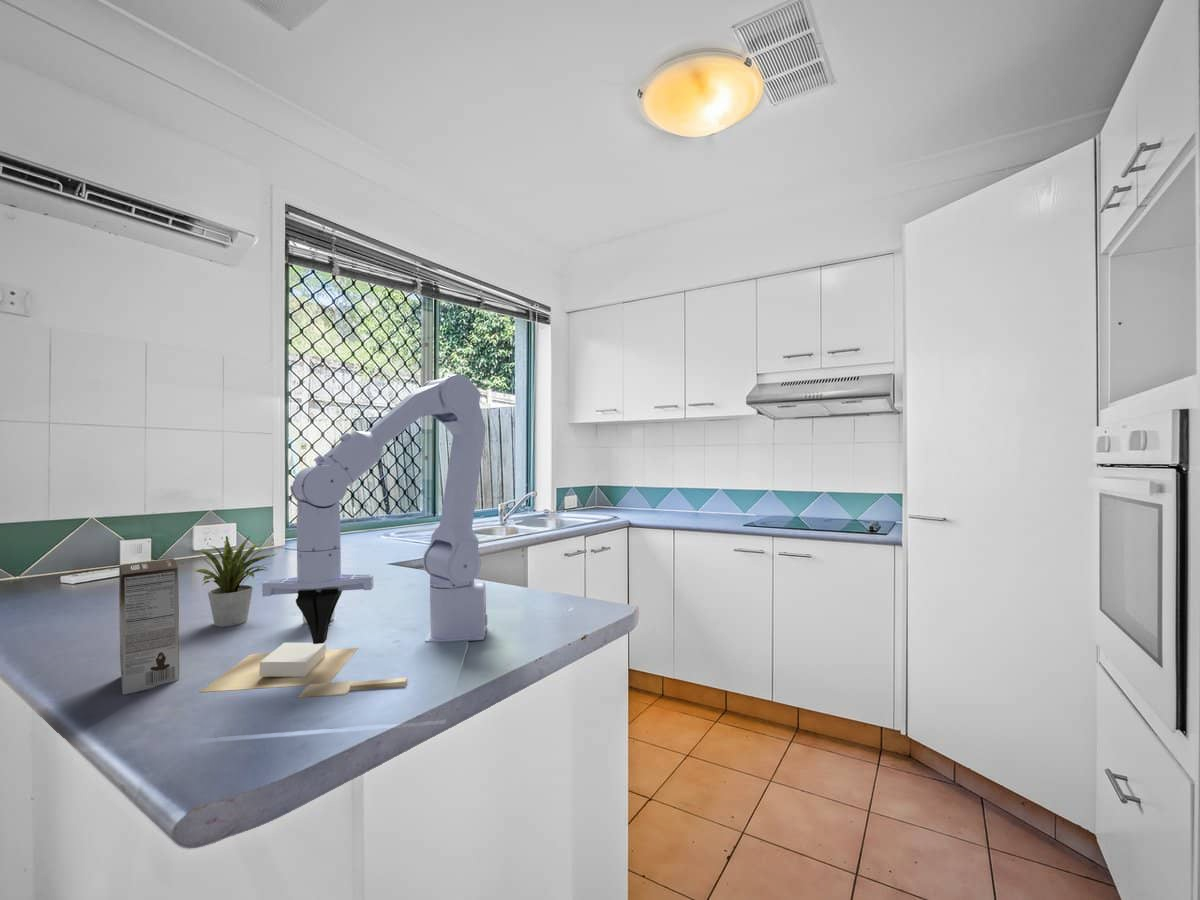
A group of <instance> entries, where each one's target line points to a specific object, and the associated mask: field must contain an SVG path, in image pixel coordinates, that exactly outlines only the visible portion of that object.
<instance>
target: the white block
mask: <svg viewBox="0 0 1200 900" xmlns="http://www.w3.org/2000/svg"><path fill="white" fill-rule="evenodd" d="M326 650H327V642H324V643H322V644H313V642H283V643H281V645H279V646H278V647H277V648H276V649H274V650H273V651H272V652H270V653H271V654H269V655H268V656H267V657H266V658H264V659H263V660H262V661H261V662H260V671H259V677H306V675H307V674H308V673H309V672H310V671H311V670H312V669H313V668H314V667H315V666H316V665H317V664H318V663H319V662H320V661H321V660H322V659H323V658H324V657H325V652H326Z"/></svg>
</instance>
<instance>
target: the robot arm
mask: <svg viewBox="0 0 1200 900" xmlns="http://www.w3.org/2000/svg"><path fill="white" fill-rule="evenodd" d="M480 401H481V392H480V390H479V389H478V388H477V386H476V385H475V384H474V382H473V381H472V380H471V379H470V378H468V377H467V376H465V375H463V374H453V375H450V376H448V377H444V378H438V379H431V380H428V381H426V382H424V383H423V384H422V385H421V386H420V387H417V388H415V389H413V390H412V391H411V392H410V393H409V394H408V395H407V396H405V397H404V398H403V399H402V400H401V401H399V403H397V404H396V405H395V406H394V407H393V408H392V409H390V410H389V411H388V412H386V414H385V415H384V416H383V417H382V418H380V420H378V421H377V422H375V424H374V425H373V426H372V427H370V429H367V431H361V430H354V431H353V432H351V433H349V432H346V433H345V432H344V434H342V435H341V436H340V437H339V441H340V442H339V443H338V444H336V445H335V446H334V447H333V448H332V449H330V450H329V451H328V452H326V454H324V455H317V456H316V457H315V458H314V459H313V461H314V462H315V466H308V467H305V468H302V469H301V470H300V471H299V472H297V474H296V475H295V477H294V479H293V481H292V485H290V488H289V489H290V492H291V495H292V496H293V498H294V499H295V500H296V504H297V505H296V507H297V508H296V510H297V511H296V512H297V515H296V516H297V517H296V567H297V568H296V572H297V573H296V575H297V576H296V577H287V578H280V579H279V578H278V579H268V580H265V581H264V582H262V586H261V587H262V588H261V590H262V591H261V592H262V593H261V594H262V596H261V597H271V596H274V595H277V596H278V595H291V594H293V595H294V594H297V598H296V599H295V604H296V606H297V607H298V610H300V611H301V613H302V616H303V615H304V617H305V619H306V621H307V624H306V625H307V626H308V628H309V631H310V635H311V640H312V643H313V644H322V643H326V641H327V639H328V633H329V632H328V631H329V627H330V624H331V621H332V620H331V617H332V614H333V611H334V609H335V608H336V606H337V604H338V601H339V599H340V597H341V595H342V593H343V591H355V590H356V591H357V590H360V591H361V590H364V591H371V590H372V589H373V588H374V574H373V573H372V574H346V573H345V574H342V572H341V571H342V569H341V568H342V560H341V554H342V553H341V549H342V547H341V513H340V511H341V508H340V501H342V500H343V499H344V497H345V496H346V493H347V489H348V487H349V486H352V484H353V483H354V482H355V481H357V480H358V479H360V477H362V476H363V475H364V473H366V472H367V471H369V470H370V469H371V468H372V467H373V466H374V465H376V464H377V463H378V462H379V461H380V460H381V459H382V455H383V447H384V446H385V445H386V444H388V443H389V442H390V441H392V440H393V439H394V438H396V437H397V436H399V435H400V434H401V433H402V432H403V431H405V430H406V429H407V428H409V427H410V426H412V424H413V423H415V422H416V421H418V420H419V419H420V418H421V417H428V416H431V417H432V418H434V419H435V420H437V421H439V422H441V423H442V424H443V426H445V428H446V429H447V430H448V432H449V433H450V434H451V435H452V440H451V446H450V453H449V459H448V461H449V462H448V466H447V467H448V468H447V473H446V480H445V486H444V487H445V488H444V494H443V500H442V502H443V503H442V506H441V507H442V508H441V509H442V510H441V515H440V522H439V526H437V528H436V529H435V530H434V531H433V532H432V534H431V538H430V543H429V545H428V547H427V549H426V550H425V551H424V553H423V554H424V555H423V558H422V564H423V565H422V566H423V568H424V570H425V572H426V573H427V574H428V575H429V576H430V577H429V578H430V579H429V606H430V609H429V611H430V614H429V615H430V620H429V622H430V626H429V628H430V630H429V632H428V634H427V635H426V637H425V639H424V642H425V643H438V642H439V643H440V642H453V641H455V642H456V641H457V642H458V641H468V642H470V641H471V642H472V641H484V639H485V636H486V631H487V626H488V614H487V590H486V582H483V581H481V582H480V581H479V582H477V581H475V579H476V578H477V577H478V575H479V573H480V569H481V565H482V564H481V563H482V561H481V556H480V554H479V544H480V541H479V538H478V536H477V535H476V533H475V532H474V530H473V525H474V524H473V523H474V517H475V516H474V515H475V510H476V509H475V508H476V502H477V494H478V487H479V479H480V472H481V464H482V460H483V459H482V457H483V453H484V452H483V451H484V445H485V437H486V424H485V418H484V417H483V412H482V409H481V405H480ZM335 610H336V609H335ZM330 620H331V621H330Z"/></svg>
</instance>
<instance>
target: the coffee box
mask: <svg viewBox="0 0 1200 900" xmlns="http://www.w3.org/2000/svg"><path fill="white" fill-rule="evenodd" d="M179 569H180V568H179V566H178V564H177V562H176V560H175V559H174V558H166V559H160V560H159V559H158V560H150V561H147V560H146V561H139V562H131V563H124V564H119V571H118V572H119V575H118V577H119V579H118V580H119V581H118V589H119V591H118V592H119V593H118V594H119V595H118V596H119V599H118V600H119V601H118V602H119V604H118V605H119V652H120V654H119V655H120V675H121V676H120V677H121V690H122V691H121V693H122V695H125V696H126V695H129V694H133V693H134V694H135V693H138V692H143V691H147V690H151V689H154V688H156V687H157V686H160V685H163V684H164V685H165V684H167V683H172V682H175V681H179V680H180V594H179V593H180V591H179V590H180V589H179V588H180V582H179V581H180V580H179V579H180V578H179V576H180V574H179V571H180V570H179Z"/></svg>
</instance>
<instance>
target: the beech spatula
mask: <svg viewBox="0 0 1200 900" xmlns="http://www.w3.org/2000/svg"><path fill="white" fill-rule="evenodd" d="M407 685H408V677H406V676H405V677H396V678H395V677H394V678H383V679H381V678H380V679H370V680H357V681H356V680H348V681H347V680H346V681H337V682H330V683H322V684H310V685H306V687H305V688H304V689H303V690H302V691H301V692H300V693H299V695H298V696H297V697H296V699H303V698H304V699H305V698H317V697H331V696H332V697H333V696H346V695H348V694H349V693H350V692H351V691H361V690H376V689H377V690H378V689H390V688H391V689H392V688H405V687H406V686H407Z"/></svg>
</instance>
